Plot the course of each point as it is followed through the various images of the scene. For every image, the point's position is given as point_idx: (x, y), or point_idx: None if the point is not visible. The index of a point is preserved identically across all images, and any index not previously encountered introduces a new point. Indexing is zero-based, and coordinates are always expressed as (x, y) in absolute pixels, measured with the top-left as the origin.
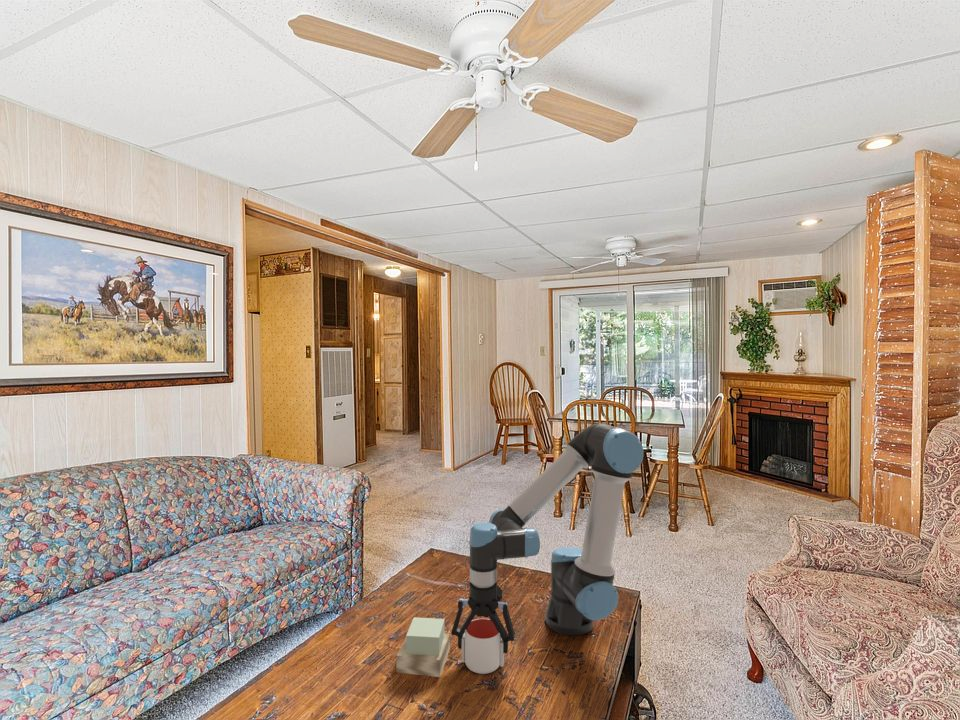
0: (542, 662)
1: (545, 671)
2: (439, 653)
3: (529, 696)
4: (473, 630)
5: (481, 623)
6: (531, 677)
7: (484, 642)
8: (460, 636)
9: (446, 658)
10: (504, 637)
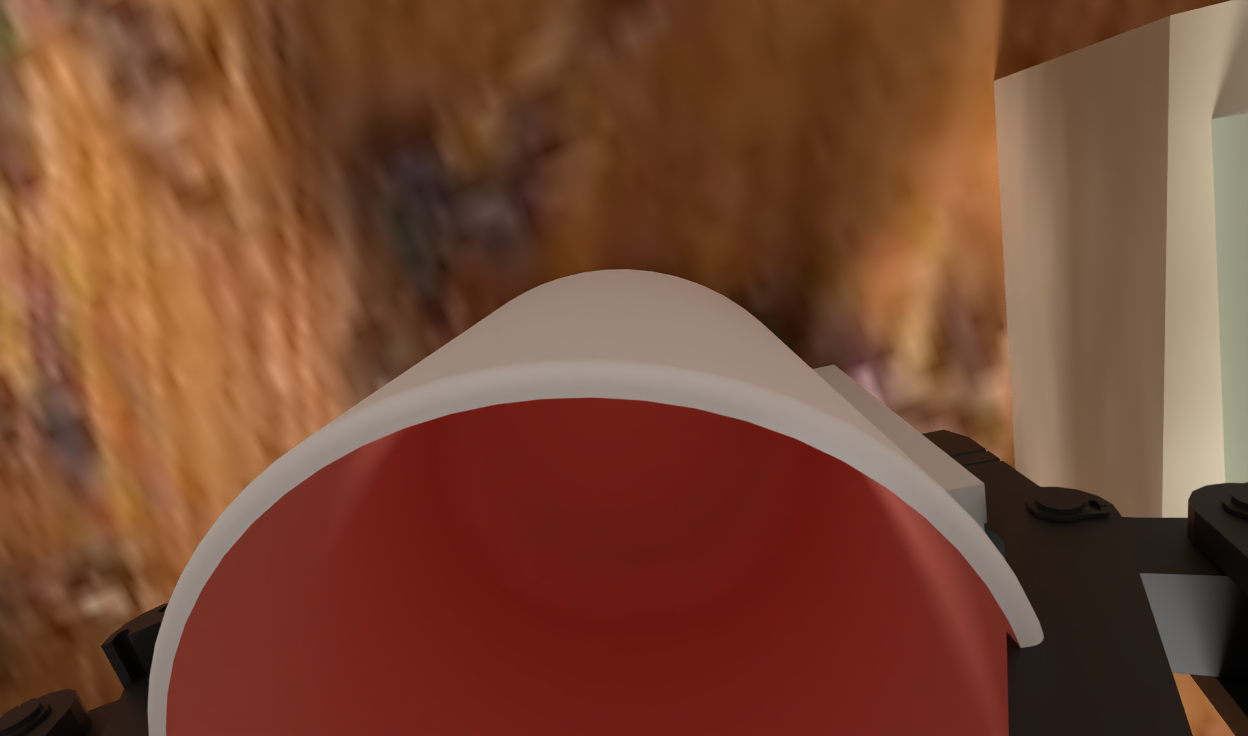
0: None
1: (71, 551)
2: (1230, 156)
3: (17, 179)
4: None
5: None
6: (135, 437)
7: (387, 390)
8: (1039, 502)
9: (1014, 391)
10: (137, 713)
